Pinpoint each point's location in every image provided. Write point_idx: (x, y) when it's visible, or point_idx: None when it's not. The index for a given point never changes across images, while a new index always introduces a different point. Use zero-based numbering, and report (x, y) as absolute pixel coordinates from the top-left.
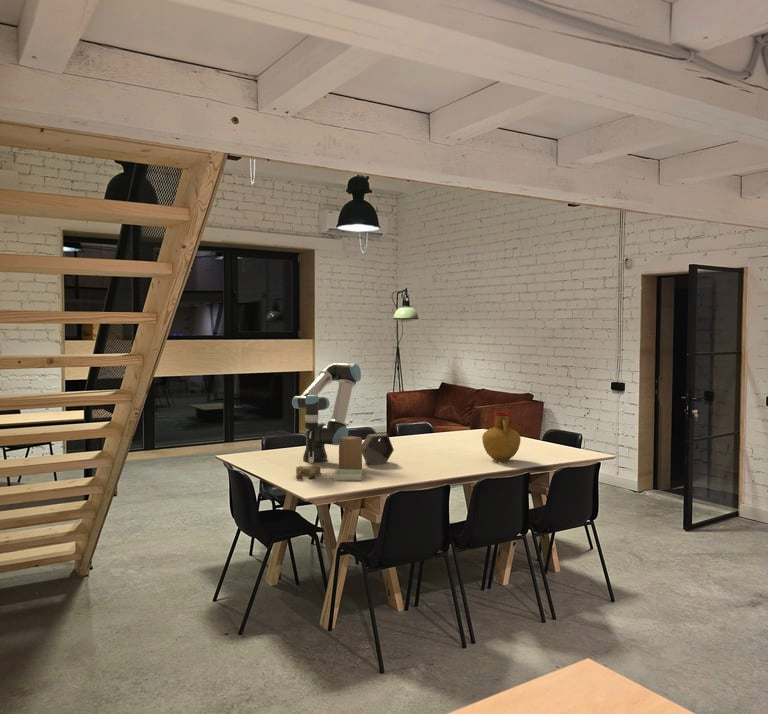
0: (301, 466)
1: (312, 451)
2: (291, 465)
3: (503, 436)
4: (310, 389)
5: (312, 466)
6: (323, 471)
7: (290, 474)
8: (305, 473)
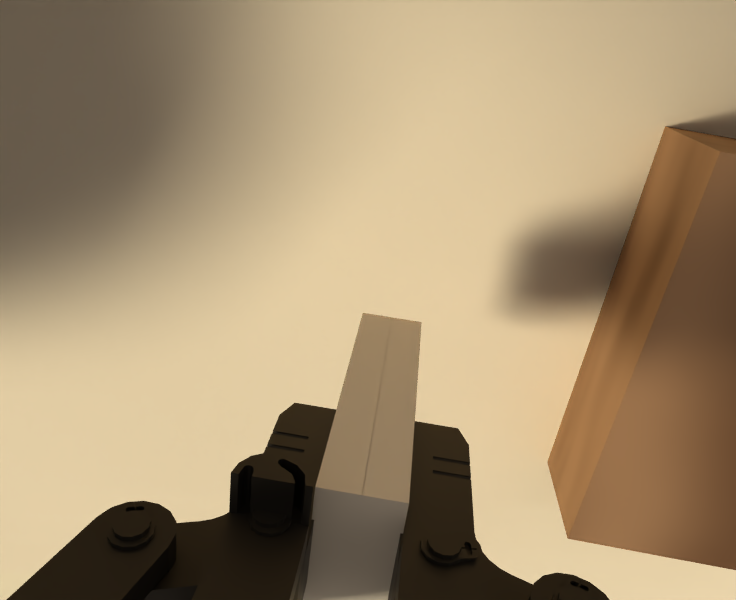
0: (629, 514)
1: (405, 526)
2: (62, 540)
3: None
4: None
5: (685, 329)
6: (552, 60)
7: (683, 573)
8: None
